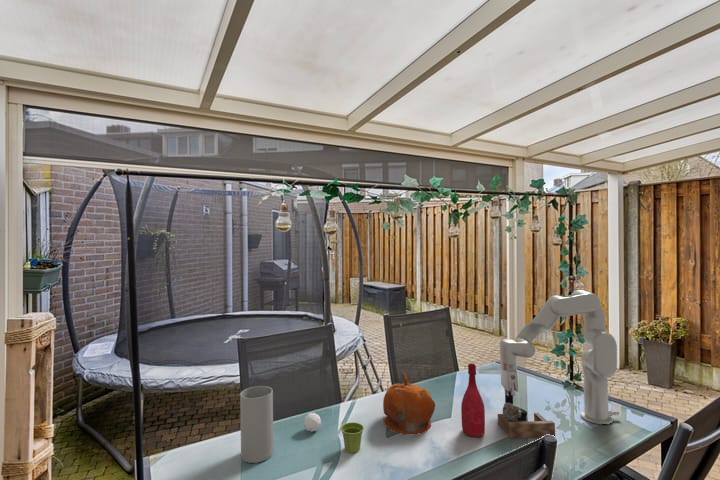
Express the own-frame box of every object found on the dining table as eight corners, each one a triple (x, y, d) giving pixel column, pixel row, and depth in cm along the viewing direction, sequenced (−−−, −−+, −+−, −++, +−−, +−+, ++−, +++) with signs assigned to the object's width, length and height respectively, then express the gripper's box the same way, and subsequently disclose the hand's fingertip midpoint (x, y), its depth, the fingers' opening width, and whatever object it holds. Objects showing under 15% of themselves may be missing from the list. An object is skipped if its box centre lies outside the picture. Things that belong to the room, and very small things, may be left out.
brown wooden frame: (538, 421, 170) (538, 408, 170) (555, 437, 156) (554, 422, 156) (497, 422, 170) (497, 409, 170) (510, 438, 156) (510, 424, 156)
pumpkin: (395, 407, 188) (394, 363, 188) (442, 419, 174) (441, 371, 174) (372, 425, 169) (371, 376, 169) (423, 440, 155) (422, 387, 156)
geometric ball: (308, 436, 166) (301, 418, 169) (324, 427, 168) (316, 410, 172) (307, 435, 159) (299, 417, 163) (324, 426, 162) (316, 408, 165)
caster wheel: (524, 419, 177) (527, 425, 168) (499, 411, 181) (501, 417, 171) (526, 405, 178) (530, 411, 169) (502, 398, 181) (504, 403, 172)
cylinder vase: (235, 455, 147) (234, 392, 147) (263, 443, 156) (262, 383, 156) (250, 468, 138) (249, 401, 138) (279, 454, 147) (278, 391, 147)
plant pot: (351, 440, 156) (350, 420, 157) (368, 447, 150) (368, 426, 151) (336, 450, 149) (335, 428, 149) (354, 458, 143) (353, 436, 143)
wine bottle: (469, 439, 155) (468, 368, 156) (457, 428, 165) (456, 361, 165) (489, 436, 158) (488, 366, 158) (476, 425, 167) (475, 359, 168)
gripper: (523, 370, 171) (523, 410, 171) (509, 360, 186) (510, 397, 186) (507, 371, 171) (507, 410, 171) (494, 360, 186) (495, 397, 186)
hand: (509, 403), depth 179 cm, fingers closed
